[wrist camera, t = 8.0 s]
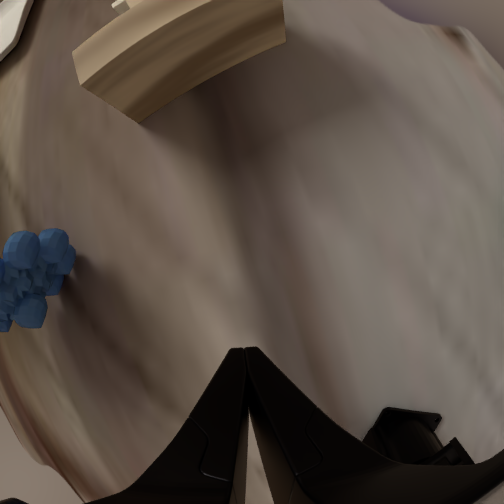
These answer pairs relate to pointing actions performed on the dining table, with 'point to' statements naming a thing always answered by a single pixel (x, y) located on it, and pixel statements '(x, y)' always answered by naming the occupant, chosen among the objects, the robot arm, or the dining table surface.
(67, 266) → the grapes
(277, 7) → the t block
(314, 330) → the dining table surface
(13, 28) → the square plate
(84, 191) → the dining table surface
